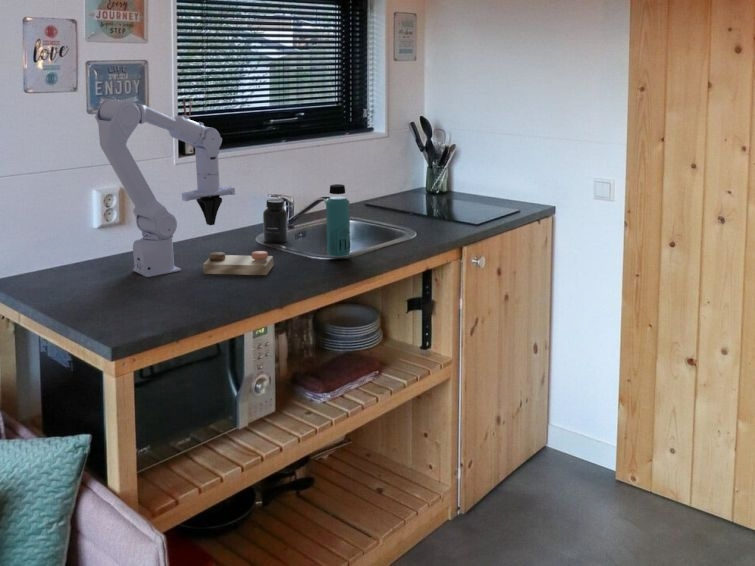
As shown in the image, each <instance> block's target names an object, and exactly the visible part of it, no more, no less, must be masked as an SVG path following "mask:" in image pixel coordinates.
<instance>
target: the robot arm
mask: <svg viewBox="0 0 755 566" xmlns="http://www.w3.org/2000/svg"><path fill="white" fill-rule="evenodd" d="M94 117H95V118H94V119H95V121H96V122H97V124H98V125H97V126H98V136H99V145H100V147H101V150H102V152H103V153H104V155H105V157H106V159H107V161H108V162H109V164H110V165H111V167H112V169H113V171H114V172H115V174H116V176H117V178H118V179H119V181H120V183H121V185H122V186H123V188H124V190H125V191H126V193H127V195H128V197H129V198H130V200H131V202H132V203H133V205H134V208H133V211H132V212H133V214H134V216H135V224H136V227H137V228H138V230H140V231H141V236H142V237H141V238H139V239H136V240H134V241H133V243H132V256H133V266H134V268H133V271H134V272H135V273H138V274H140V275H142V276H143V277H145V278H149V277H156V276H160V275H166V274H171V273H175V272H180V271H181V270H182V269H181V268H180V267H178V266H177V265H175V260H174V259H175V258H174V245H173V244H174V243H173V242H174V241H173V238H174V234H175V233H176V230H177V228H178V221H177V219H176V217H175V215H174V214H172V213H171V212H169V211H168V210H167V208H166V206H165V205H164V204H163V203H161V202H160V201H159V200H158V199H157V198H156V196H155V194H154V193H153V191H152V189H151V187H150V185H149V184H148V182H147V180H146V178H145V177H144V175H143V173H142V171H141V169H140V168H139V166H138V164H137V162H136V160H135V159H134V157H133V155H132V153H131V151H130V150H129V148H128V146H127V143H128V141H129V138H130V137H131V135H132V134H133V133H134V131H135V129H136V128H137V127H138V125H140V124H141V125H143V124H145V123H146V124H149V125H152V126H156V127H157V128H161V129H163V130H166V131H168V133H169V136H170V137H171V138H173V139H176V140H179V141H180V142H184V143H187V144H189V145H191V146H192V147H193V148H194V149H195V150H194V152H195V154H194V155H195V167H196V168H195V169H196V170H195V171H196V184H197V185H196V186H197V189H195V190H190V191H186V192H182V193H181V199H182V201H184V202H190V201H193V200H196V203H197V204H198V206H199V207H200V209H201V211H202V214H203V216H204V220H205V223H206V225H207V226H215V224H216V218H217V214H218V212H219V211H218V210H219V208H220V206H221V204H222V203H223V196H231V195H232V196H234V195H236V191H235V190H236V188H235V187H234V186H224V187H223V186H222V187H221V186H220V168H219V167H220V166H219V155H220V152H219V151H220V147H221V145H222V142H223V138H222V137H221V135H220V132H219V131H218V129H216V128H214V127H209V126H205V125H204V124H205V123H203V122H201V121H198V122H197V121H194V120H193V119H192V120H191V119H190V116H188V115H186V114H181V115H176V116H174V117H171V116H168V115H166V114H165V113H162V112H160V111H158V110H156V109H153V108H151V107H149V106H147V105H144V104H140V103H135V102H133V101H128V100H126V101H123V100H115V99H111V98H108V99H107V98H106V99H105V100H103V101H101V103H100V104H99V105H98V108H97V110H96V112H95V116H94ZM221 196H222V197H221Z"/></svg>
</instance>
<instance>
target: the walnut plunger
mask: <svg viewBox="0 0 755 566" xmlns="http://www.w3.org/2000/svg"><path fill="white" fill-rule="evenodd" d="M208 255H209V256H208V259H210V260H213V261H222V260H224V259H225V255H226V253H225V252H222V251H214V252H210V253H209V254H208Z"/></svg>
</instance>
